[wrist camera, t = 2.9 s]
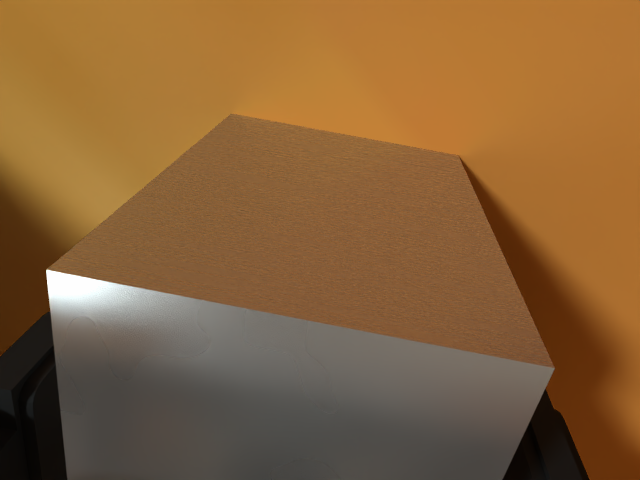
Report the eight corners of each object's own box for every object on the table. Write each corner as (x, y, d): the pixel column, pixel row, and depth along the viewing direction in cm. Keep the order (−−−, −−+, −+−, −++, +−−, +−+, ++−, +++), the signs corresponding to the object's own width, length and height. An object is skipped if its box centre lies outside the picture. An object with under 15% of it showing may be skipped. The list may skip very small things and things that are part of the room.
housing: (231, 113, 11) (-27, 330, 4) (458, 154, 11) (593, 452, 4) (208, 411, 15) (58, 781, 8) (374, 444, 15) (367, 849, 8)
